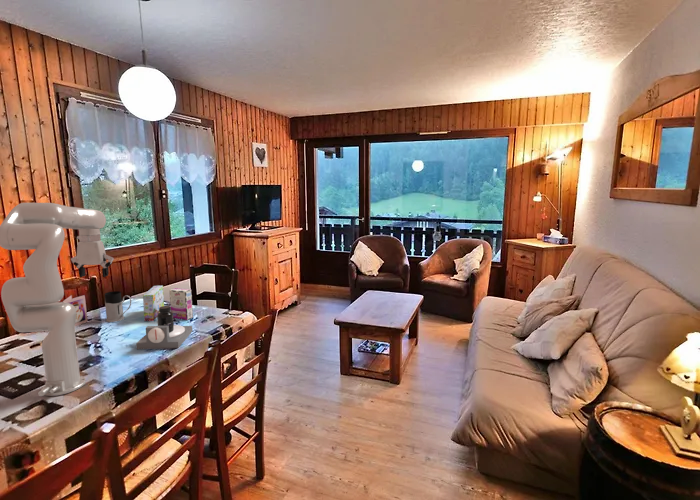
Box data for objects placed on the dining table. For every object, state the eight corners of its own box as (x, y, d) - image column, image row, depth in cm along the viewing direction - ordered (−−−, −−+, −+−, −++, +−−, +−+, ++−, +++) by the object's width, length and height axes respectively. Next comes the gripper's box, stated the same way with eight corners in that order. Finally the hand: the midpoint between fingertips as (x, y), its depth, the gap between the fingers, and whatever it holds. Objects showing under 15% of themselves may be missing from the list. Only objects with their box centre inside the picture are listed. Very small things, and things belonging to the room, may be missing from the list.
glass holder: (113, 316, 206) (110, 290, 204) (137, 317, 205) (135, 291, 203) (102, 321, 197) (99, 295, 195) (127, 322, 197) (125, 295, 194)
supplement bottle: (167, 334, 171) (165, 310, 169) (154, 333, 172) (152, 308, 170) (177, 329, 178) (175, 305, 176) (164, 328, 179) (163, 304, 177)
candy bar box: (193, 317, 206) (192, 289, 203) (187, 320, 201) (185, 291, 198) (177, 315, 209) (175, 287, 206) (170, 318, 204) (168, 289, 201)
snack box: (155, 321, 199) (153, 294, 197) (143, 322, 198) (141, 295, 196) (165, 309, 220) (163, 284, 217) (155, 309, 218) (153, 285, 216)
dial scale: (177, 348, 165) (176, 327, 163) (135, 350, 163) (134, 328, 162) (192, 331, 185) (191, 312, 184) (155, 332, 184) (153, 313, 182)
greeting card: (67, 329, 186) (64, 301, 184) (56, 328, 188) (53, 300, 185) (88, 322, 197) (85, 295, 194) (78, 320, 199) (75, 294, 196)
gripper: (63, 239, 156) (68, 278, 159) (106, 239, 158) (109, 278, 161) (74, 237, 164) (78, 274, 167) (115, 237, 166) (118, 274, 168)
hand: (94, 276), depth 164 cm, fingers open, 9 cm apart
